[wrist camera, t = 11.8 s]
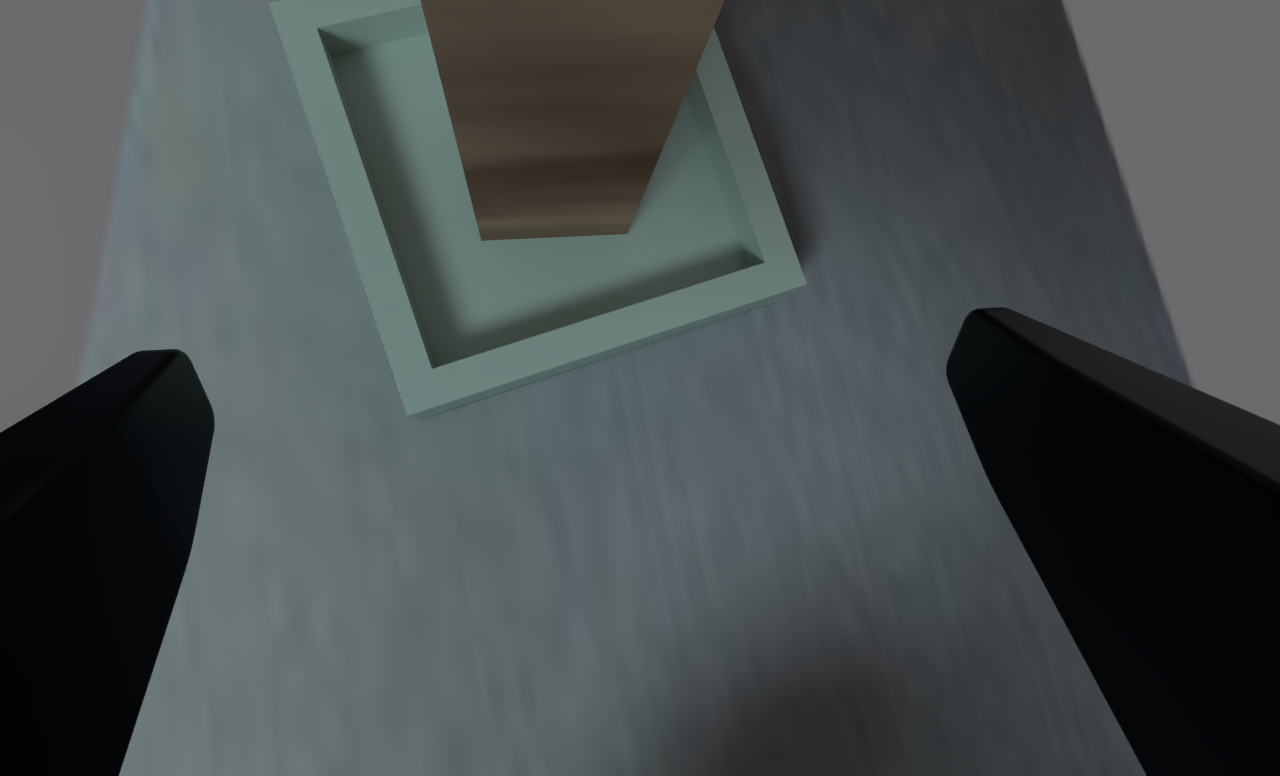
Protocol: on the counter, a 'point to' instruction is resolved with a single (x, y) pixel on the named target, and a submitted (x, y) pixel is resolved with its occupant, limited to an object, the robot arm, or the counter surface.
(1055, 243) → the counter surface
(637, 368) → the counter surface
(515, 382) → the tray
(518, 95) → the tan wooden block
